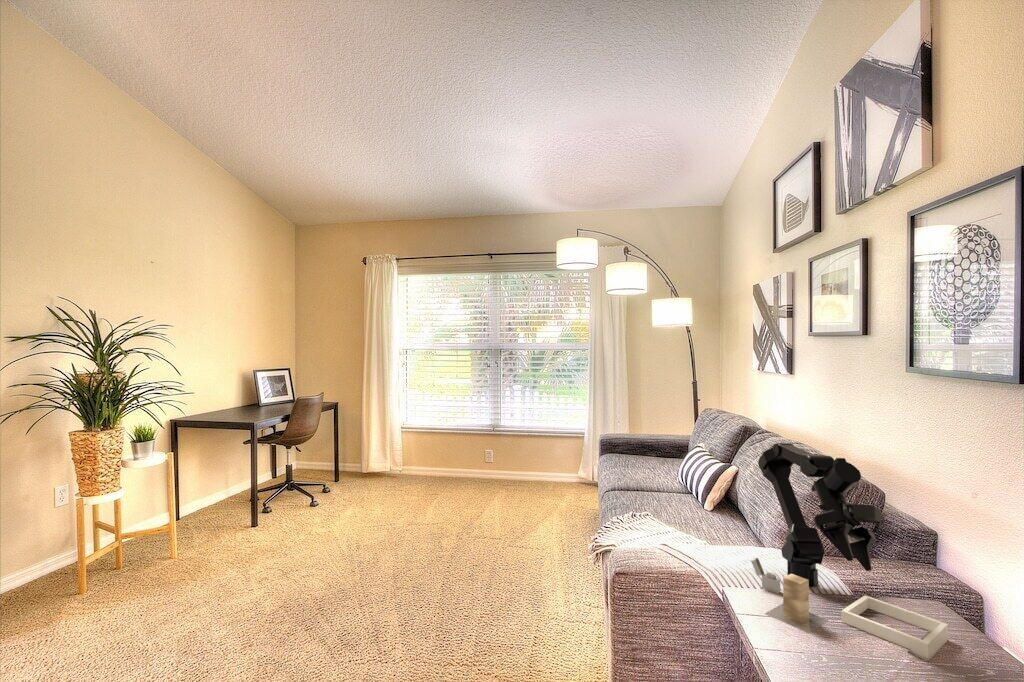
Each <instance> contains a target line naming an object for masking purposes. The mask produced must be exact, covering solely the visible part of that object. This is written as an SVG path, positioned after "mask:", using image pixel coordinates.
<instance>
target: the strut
mask: <svg viewBox="0 0 1024 682" xmlns="http://www.w3.org/2000/svg"><path fill="white" fill-rule="evenodd" d="M782 580H783V582H782V585H783V586H782V594H783V595H782V597H783V598H782V599H783V600H782V601H783V602H782V604H783V616H786V617H788V618H790V619H793V620H795V621H797V622H800V623H802V622H804V621H805V620H807V619H808V618H809V612H810V598H809V597H810V593H809V592H810V587H809V580H808V579H805V578H802V577H799V576H797V575H794V574H789V575H788V574H787V575H785V576H783V577H782Z"/></svg>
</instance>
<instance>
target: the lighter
mask: <svg viewBox="0 0 1024 682" xmlns="http://www.w3.org/2000/svg"><path fill="white" fill-rule="evenodd" d="M750 562H751V564H752V568H753V570H754V571H755V574H756V576H757V577H758V576H759V577H760V576H761V588H762V589H764V590H766V591H767V590H768V591H769V592H772V593H774V594H780V593H781V579H780V578H778V577H777V575H776V574H775V573H773V572H769V571H767V572H766V573H765V572H764V569H763V566H762V564H761V562H760V559H759V557H755V558H751V560H750Z"/></svg>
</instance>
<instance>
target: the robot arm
mask: <svg viewBox="0 0 1024 682" xmlns="http://www.w3.org/2000/svg"><path fill="white" fill-rule="evenodd" d="M757 462H758V463H757V464H758V467H759V469H760V471H761V473H762V475H763V477H764V478H766V480H768V481H769V483H771V484H772V486H773V489H774V492H775V494H776V497H777V501H778V503H779V507H780V509H781V512H782V515H783V518H784V521H785V522H786V523H785V524H786V525H787V528H788V529H787V532H786V535H785V544H783V546H782V548H781V549H780V550H781V556H782V558H784V559H785V560H786V561H787V564H786V565H787V575H789V574H794V575H797V576H799V577H802V578H805V579H808V580H809V588H814V587H816V586H818V585H819V574H818V573H819V570H818V569H817V564H818V565H822V562H823V559H824V555H825V547H824V545H823V541H822V539H821V538H820V535H819V532H820V533H822V534H823V535H824V537H826V538H827V540H828V541H829V542H830V543H831V544H832V545H833V546H834V548H836V549H837V550H838V552H839V553H840V554H841V555H842V556H843V557H844V559H846V560H847V561H848V562H852V561H854V558H855V560H857V561H858V563H859V564H860V565H861V566H862V567H863V569H864V570H865V571H866V572H871V571H872V562H871V561H872V560H871V553H870V549H871V547H872V546H873V545H875V543H877V538H876V536H875V533H874V532H873V531H870V530H869V529H868V528H865V527H864V526H862V525H863V523H871V524H875V525H882V520H883V519H884V515H883V514H882V511H881V509H880V508H878V507H877V506H875V505H873V504H872V505H871V504H856V503H855V504H854V503H853V504H851V503H849V502H848V500H847V498H846V495H845V493H847V492H849V491H850V489H852V488H853V487H854V486H855V485H856V484H857V483H858V482H860V480H861V478H862V474H861V472H860V470H859V469H858V467H856V466H855V465H853V464H852V463H850V462H848V461H847V459H846V458H844V457H836V458H835V459H834V457H832V456H831V455H825V454H813V453H810V452H808V451H807V450H804V449H802V448H799V447H796V446H795V445H794V444H792V443H789V442H786V443H785V442H777V443H774V444H773V445H772V447H770V448H769V449H767V450H765V451H763V452H762V453H761V455H760V457H759V458H758V461H757ZM793 465H796V466H798V467H800V468H799V469H800V472H802V474H804V475H805V476H806V477H808V478H818V479H817V480H814V481H813V484H812V486H811V489H810V490H811V492H814V493H815V492H816V495H817V496H818V497H817V498H818V499H819V503H820V504H819V505H818V507H819V509H820V510H821V511H822V512H820V513H817V514H815V515H814V517H813V522H814V523H813V524H814V527H810V525H808V524H807V523H806V519H805V517H804V514H803V511H802V509H801V506H800V504H799V501H798V499H797V496H796V494H795V491H794V488H793V485H792V484H791V481H790V476H791V472H792V467H793ZM817 529H819V532H818V530H817ZM853 556H854V557H853Z"/></svg>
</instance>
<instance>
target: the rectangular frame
mask: <svg viewBox="0 0 1024 682" xmlns="http://www.w3.org/2000/svg"><path fill="white" fill-rule="evenodd" d="M868 609H870V610H872V611H875V612H878V613H879V614H883V615H886V616H888V617H891V618H894V619H896V620H899V621H902V622H905V623H906V624H910V625H913V626H915V627H918V628H921V629H923V630H925V631H928V632H927V633H925V635H923V637H921V638H918V637H916V636H914V635H911V634H909V633H906V632H903V631H900V630H898V629H895V628H893V627H889V626H888V625H884V624H882V623H879V622H877V621H875V620H871V619H869V618H866V617H863V616H861V614H862V613H864V612H865V611H866V610H868ZM840 615H841V618H840V619H841V620H840V621H841V622H842V623H844V624H847V625H849V626H852V627H854V628H856V629H858V630H861V631H864V632H866V633H869V634H870V635H871V634H872V635H874V636H876V637H878V638H881V639H884V640H886V641H889V642H891V643H894V644H896V645H898V646H901V647H904V648H906V649H908V651H907V652H906V653H907V654H909V655H912V656H914V657H917V658H918V659H922V660H924V661H926V660H927V662H929V661H930V660H931V658H933V657H934V656H935V654H936V653H937V652H939V650H940V649H942V647H943V646H944V645H945V644H946V643H947V642H948V641H949V624H948V623H945V622H943V621H939V620H937V619H935V618H933V617H932V618H931V617H929V616H925V615H922V614H921V613H920V614H919V613H918V612H915V611H911V610H908V609H905V608H903V607H901V606H897V605H895V604H891V603H889V602H885V601H883V600H880V599H876V598H874V597H871V596H868V595H863V596H862V597H860V598H858V599H857V600H855V601H854V602H852V603H851V604H849V605H847V606H846V607H845V608H844V609H842V610H841V613H840ZM947 640H948V641H947Z"/></svg>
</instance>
